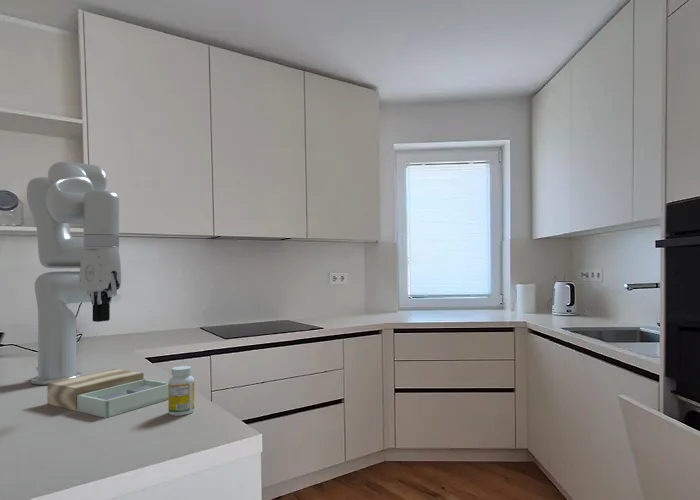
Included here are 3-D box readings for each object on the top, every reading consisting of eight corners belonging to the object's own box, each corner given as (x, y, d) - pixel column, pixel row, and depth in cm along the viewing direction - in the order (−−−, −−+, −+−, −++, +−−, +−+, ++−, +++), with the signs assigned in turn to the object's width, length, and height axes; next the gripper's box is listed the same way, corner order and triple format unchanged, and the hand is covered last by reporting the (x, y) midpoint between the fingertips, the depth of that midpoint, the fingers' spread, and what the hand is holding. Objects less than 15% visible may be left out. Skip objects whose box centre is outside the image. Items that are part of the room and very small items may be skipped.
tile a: (139, 392, 107) (139, 402, 107) (158, 387, 111) (158, 397, 111) (126, 389, 109) (126, 400, 109) (145, 385, 114) (145, 395, 113)
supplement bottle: (181, 417, 97) (181, 371, 97) (162, 414, 99) (162, 369, 100) (200, 410, 102) (199, 366, 102) (181, 407, 104) (181, 364, 104)
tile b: (109, 400, 101) (109, 411, 100) (131, 394, 105) (131, 405, 105) (97, 397, 103) (97, 408, 103) (118, 392, 107) (118, 402, 107)
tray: (77, 411, 103) (77, 395, 103) (145, 392, 118) (144, 379, 118) (105, 417, 98) (105, 401, 98) (173, 397, 112) (173, 383, 113)
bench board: (47, 404, 110) (47, 382, 110) (115, 387, 124) (115, 368, 125) (75, 410, 104) (75, 388, 104) (143, 392, 118) (143, 372, 118)
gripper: (68, 244, 111) (67, 321, 110) (104, 241, 103) (104, 324, 102) (98, 245, 117) (98, 318, 116) (135, 242, 109) (135, 320, 109)
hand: (101, 320), depth 109 cm, fingers closed
